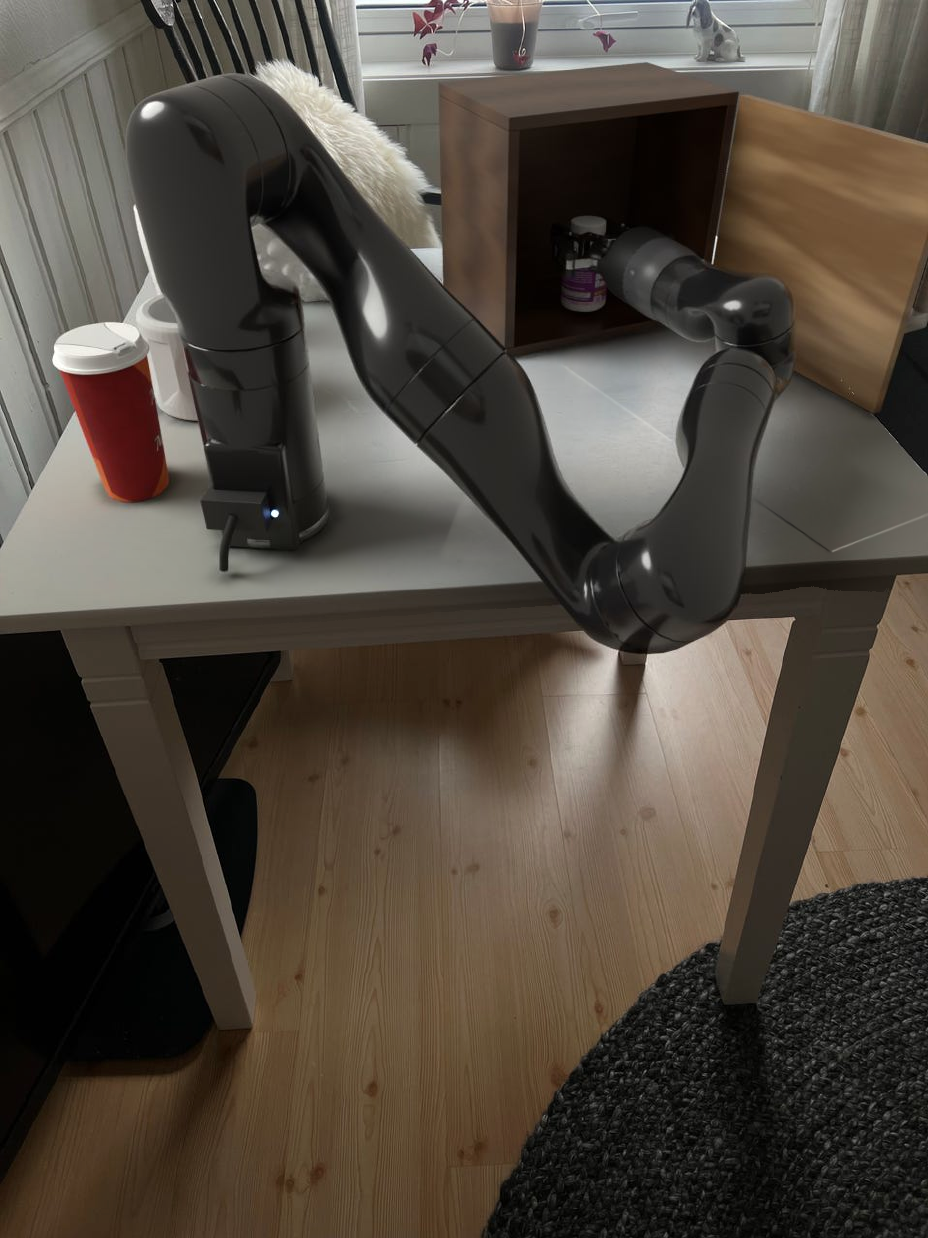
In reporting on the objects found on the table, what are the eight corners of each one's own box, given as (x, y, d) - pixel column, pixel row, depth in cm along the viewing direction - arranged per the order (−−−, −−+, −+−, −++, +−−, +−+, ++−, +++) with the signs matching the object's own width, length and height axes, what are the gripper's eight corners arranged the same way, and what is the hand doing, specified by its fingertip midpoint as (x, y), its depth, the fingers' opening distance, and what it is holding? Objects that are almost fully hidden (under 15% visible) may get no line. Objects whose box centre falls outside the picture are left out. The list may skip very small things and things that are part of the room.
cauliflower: (419, 226, 112) (264, 141, 101) (346, 374, 120) (196, 309, 109) (381, 191, 126) (243, 113, 116) (319, 325, 134) (184, 264, 124)
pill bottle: (603, 314, 109) (610, 229, 103) (558, 311, 110) (562, 226, 104) (607, 297, 113) (614, 213, 107) (563, 294, 114) (567, 211, 108)
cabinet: (702, 319, 112) (739, 91, 97) (504, 359, 105) (509, 117, 89) (625, 270, 125) (646, 61, 109) (443, 302, 117) (438, 82, 102)
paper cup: (198, 477, 86) (165, 331, 77) (135, 517, 81) (92, 366, 72) (139, 455, 89) (101, 312, 80) (74, 492, 84) (26, 344, 75)
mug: (282, 396, 98) (268, 303, 92) (196, 434, 92) (175, 336, 86) (207, 359, 105) (189, 270, 99) (122, 392, 99) (98, 299, 93)
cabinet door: (747, 310, 114) (789, 87, 98) (921, 398, 96) (1006, 142, 81) (703, 321, 112) (739, 94, 96) (873, 413, 94) (952, 153, 78)
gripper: (592, 323, 97) (520, 270, 109) (709, 300, 101) (627, 252, 113) (598, 249, 92) (521, 202, 104) (720, 228, 96) (633, 186, 108)
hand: (577, 228), depth 108 cm, fingers closed on pill bottle, 5 cm apart
